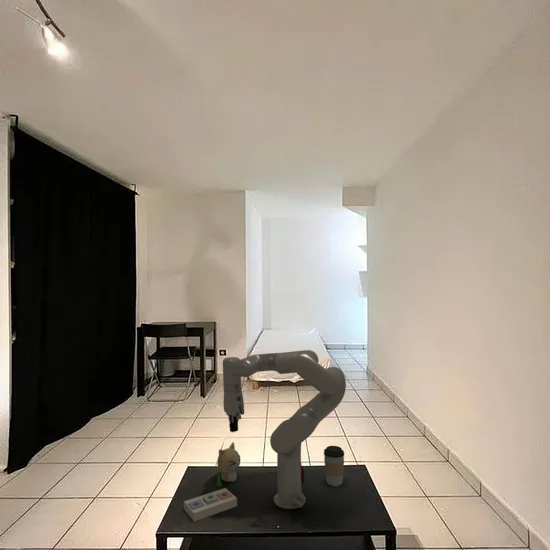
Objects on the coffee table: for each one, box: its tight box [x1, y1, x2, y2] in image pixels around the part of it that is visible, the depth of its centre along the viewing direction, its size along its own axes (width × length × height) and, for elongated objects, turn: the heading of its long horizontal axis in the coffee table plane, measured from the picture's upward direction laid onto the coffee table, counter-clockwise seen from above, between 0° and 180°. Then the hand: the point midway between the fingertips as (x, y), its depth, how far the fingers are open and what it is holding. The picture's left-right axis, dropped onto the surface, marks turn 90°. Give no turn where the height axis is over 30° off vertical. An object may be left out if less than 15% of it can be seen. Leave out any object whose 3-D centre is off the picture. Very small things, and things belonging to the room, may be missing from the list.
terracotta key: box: [217, 490, 232, 500], centre depth 160 cm, size 5×5×2 cm
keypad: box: [183, 487, 238, 522], centre depth 156 cm, size 10×18×3 cm, turn 124°
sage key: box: [203, 492, 219, 505], centre depth 157 cm, size 5×5×2 cm
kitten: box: [216, 441, 241, 488], centre depth 179 cm, size 15×10×15 cm
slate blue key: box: [188, 500, 204, 510], centre depth 153 cm, size 5×5×2 cm
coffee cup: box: [323, 445, 345, 487], centre depth 175 cm, size 9×9×15 cm
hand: (234, 431), depth 169 cm, fingers closed
